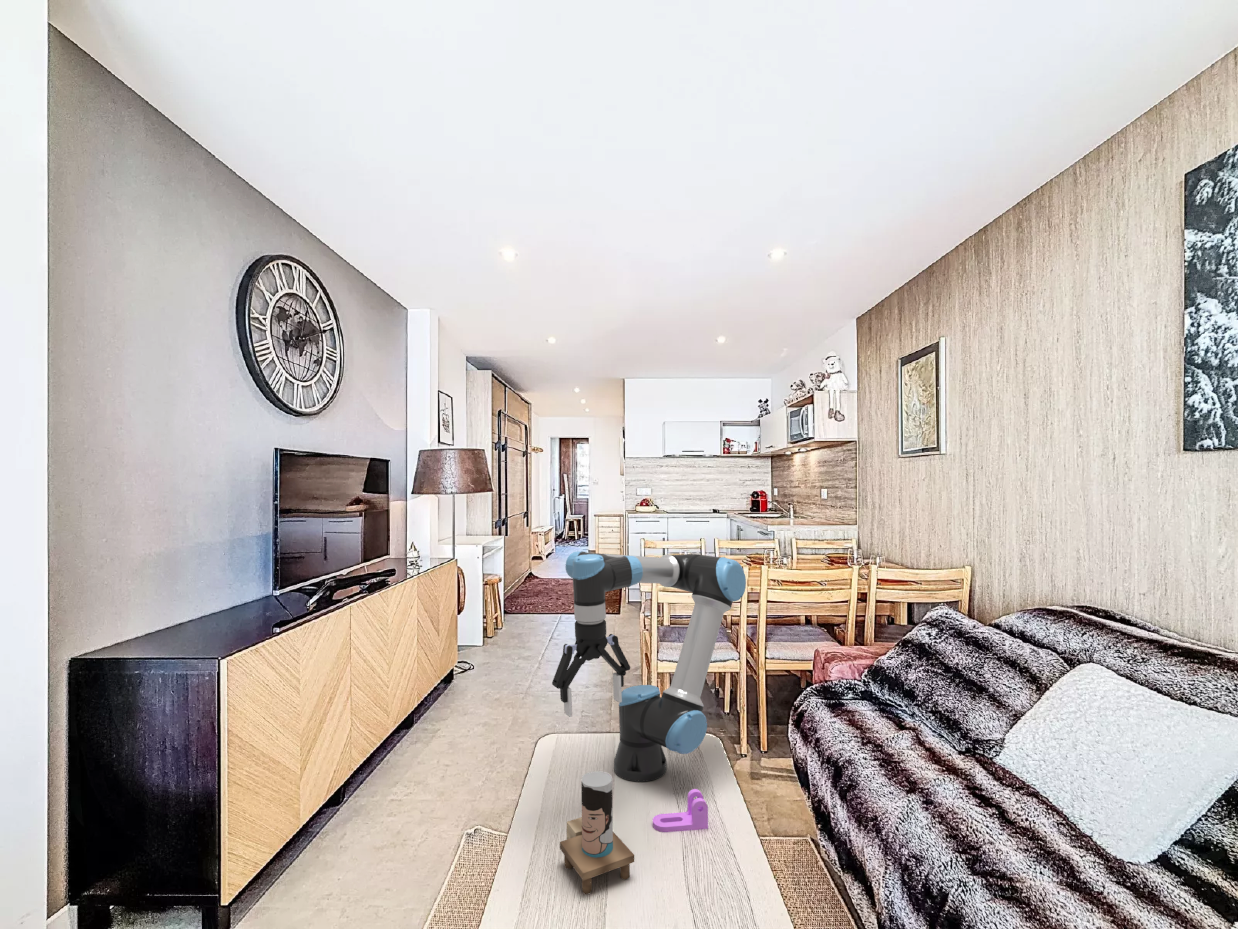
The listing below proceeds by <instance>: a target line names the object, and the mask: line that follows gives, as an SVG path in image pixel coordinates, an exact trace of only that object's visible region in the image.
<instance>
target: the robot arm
mask: <svg viewBox="0 0 1238 929" xmlns="http://www.w3.org/2000/svg"><path fill="white" fill-rule="evenodd" d="M565 571H566V574H567V575H568V577H570V578H571V579H572V587H573V588H572V589H573V591H572V592H573V608H574V613H573V614H574V620H575V622H574V637H575V643H574V644H568V643H564V645H563V648H562V649H563V650H562V655H561V657H560V660H559V663H558V665H557V668H556V671H555V674H554V676H553V679H552V682H551V685H552V687H553V686H554V687H555V688H556V689H559V691H560V692H559V693H560V698H559V699H560V700H561V702H562V703H563V711H564V714H565V715H566V716H567V717H569V718H571V717H573V699H572V697H573V696H572V688H571V687H570V685H571V684H572V682H573V681H574V679H575V677H576V675H577V674H578V672H579V670H580V668H581V667H582V665H584V664H585V663H586V661H588V662H589V661H592V660H597V659H600V657H601V658H602V659H603V660H604V661H605V662H607V664H608V665H609V666H610V667H611V668H612V670H614V672H612V690H613V691H612V693H613V694H612V696H613V700H614V701H615V702H618V703H619V704H618V719H619V720H618V721H619V723H618V724H619V742H618V745H617V749H616V753H615V755H614V756H615V757H614V760H613V771H614V773H615V774H616V775H617V776H618V777H620V778H621V779H624V780H627V781H631V782H638V783H639V782H650V781H655V780H657V779H659V778H662V777H663V776H664V775H665V774H666V772H667V759H666V755H665V753H664V749H663V747H664V748H666V749H668V750H669V751H672V752H676V753H678V754H682V755H686V754H687V755H688V754H691V753H692V752H694V751H695V750H697V749H698V748H699V747H700V746H701V744H702V743H703V741H704V739H705V737H706V734H707V730H708V722H707V716H706V715H705V714H704V713H703V711H704V703H703V701H702V699H701V696H702V692H703V690H704V686H705V682H706V678H707V674H708V670H709V669H710V668H709V667H710V664H711V661H712V658H713V654H714V650H715V647H716V642H717V638H718V635H719V632H720V629H721V624H722V622H723V621H722V620H723V617H724V614H725V613H726V612H728V611H730V610H731V609H732V605H733V604H734V602H737V601H739V600H741V598H743V596H744V594H745V591H746V585H747V579H746V574H745V570H744V568H743V566H742V565H741V563H739V561H737V560H735V559H731V558H727V557H725V556H722V557H721V556H711V555H704V554H698V553H691V554H685V553H684V554H664V555H662V556H661V557H657V556H643V555H626V554H613V553H610V554H609V553H598V552H597V553H596V552H586V551H573V552H572V553H571V554H569V555H568V556H567V558H566V561H565ZM638 583H639V584H660V586H662V587H664V588H673V589H677V590H681V591H684V592H688V593H692V594H691V598H692V601H693V602H694V606H693V609H692V613H691V615H690V616H691V617H690V618H689V623H688V626H687V629H686V632H685V635H684V639H683V642H682V646H681V650H680V653H679V656H678V659H677V662H676V663H677V664H676V666H675V670H674V673H673V677H672V679H671V683H670V686H669V687H668V688H666V689H664V690H663V691H662V694H661V691H660V688H659V687H658V686H656V685H652V684H639V685H634V686H629V687H626V688H625V689H622V688H623V687H624V685H625V679H624V676H626V674H627V671H628V672H629V671H630V670H631V666H630V663H629V662H628V659H627V657H626V655H625V654H624V652H623V650H622V648H621V646H620V644H619V637H618V636H617V635H616V634H612V633H610V634H609V635H608V636H607V621H606V618H607V610H606V593H607V592H611V591H615V590H619V589H620V590H621V589H624V588H630V587H632V586H635V585H637V584H638ZM607 645H610V647H611V649H612V651H613V653H614V656H615V658H616V659H617V661H618V662H617V661H616V660H615V659H614V658H613V657H612V656H611V655H610V653H609V652H608V651H607V650H606V648H607ZM575 651H576V653H575ZM573 655H574V656H573ZM572 658H573V660H572ZM619 664H620V665H619Z"/></svg>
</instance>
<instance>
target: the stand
mask: <svg viewBox="0 0 1238 929" xmlns="http://www.w3.org/2000/svg"><path fill="white" fill-rule="evenodd" d="M559 849H560V852H562V854H563V856H564V861H563V862H564V863H563V864H564V868H565V869H567V870H572V869H574V870H575V872H576V873H577V874H578V875H579V877H580V879H581V892H582V894H584V895H590V894H592V892H593V886H592V883H593V881H592V878H594V877H597V876H600V875H603V874H605V873H609V872H610V871H613V870H616V869H620V870H619V872H620V873H619V875H620V879H621V880H629V879H630V878H631V877H630V876H631V875H630V873H631V872H630V871H631V870H630V868H631V866H630V865H631V864H633V863H635V853H634V852H633V851H632V850H631V849H630V848H629V847H628V846H627V845H626V844H625V843H624V842H623V841H622V840H621V838H619V837H618V835H617V833H615V832H614V831H613V850H612V852H611V853H610V854H608V855H606V856H604V857H597V858H595V857H590V856H587V855H586V854H584V853H583V851H582V835H580V836H576V837H573V838H570V839H567V838H566V839H565V840H562V841H559Z"/></svg>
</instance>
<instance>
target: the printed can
mask: <svg viewBox="0 0 1238 929" xmlns="http://www.w3.org/2000/svg"><path fill="white" fill-rule="evenodd" d="M580 779H581V784H580V786H581V788H580V789H581V793H580V794H581V817H582V851H583V853H584V854H586V855H587V856H590V857H595V858H597V857H604V856H606V855H608V854H610V853H611V852H612V850H613V832H614V831H613V830H614V828H613V827H614V820H613V818H614V817H613V816H614V815H613V812H614V811H613V776H612V775H611V774H610V773H609V772H606V771H601V770H593V771H588V772H586V773H584V774H583V775H582V776H581V778H580Z"/></svg>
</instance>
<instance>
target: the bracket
mask: <svg viewBox="0 0 1238 929" xmlns="http://www.w3.org/2000/svg"><path fill="white" fill-rule="evenodd" d="M686 797H687V798H686V799H687V800H686V802H687V807H686V808H687V810H686V811H682V812H680V811H679V812H670V813H659V814H656V815H654V816H653V818H652V828H653V830H655V831H657V832H659V833H674V832H675V833H676V832H685V831H696V830H698V831H699V830H709V807H708V804H707V802H706V800H705V799H704V795H703V794H702V792H701V791H700V790H699V789H698V788H693V789H690V790H689V792H688V793H687V796H686Z"/></svg>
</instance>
